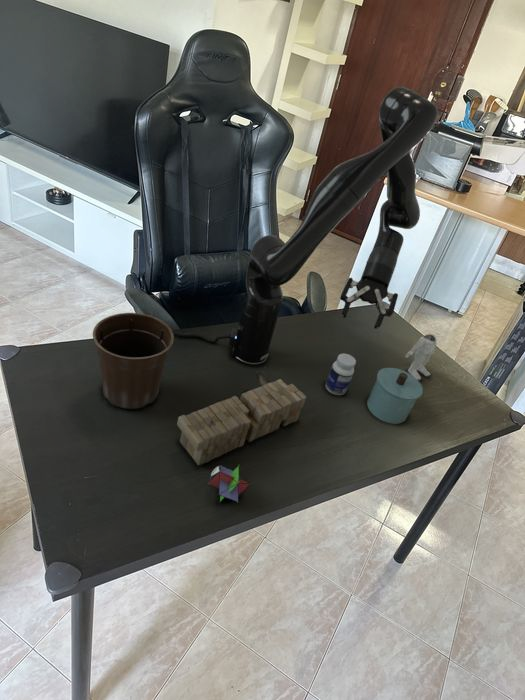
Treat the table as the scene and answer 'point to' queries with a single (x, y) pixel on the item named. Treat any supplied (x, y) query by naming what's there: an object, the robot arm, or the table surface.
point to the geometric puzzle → (228, 483)
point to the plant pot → (132, 357)
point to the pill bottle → (340, 374)
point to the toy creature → (422, 355)
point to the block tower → (239, 420)
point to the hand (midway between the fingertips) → (360, 322)
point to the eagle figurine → (262, 378)
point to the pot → (394, 395)
